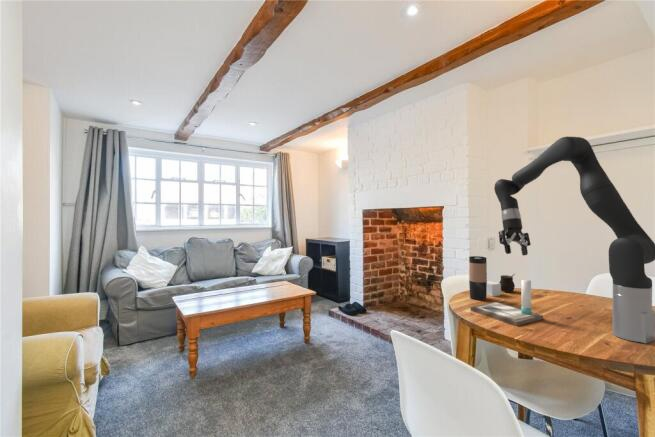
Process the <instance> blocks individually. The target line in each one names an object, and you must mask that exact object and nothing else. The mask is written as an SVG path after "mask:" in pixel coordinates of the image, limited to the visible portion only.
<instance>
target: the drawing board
mask: <svg viewBox="0 0 655 437" xmlns="http://www.w3.org/2000/svg"><path fill="white" fill-rule="evenodd" d="M470 311H471V312H474V313H477V314H479V315H483V316H486V317H489V318H492V319H494V320H496V321H497V320H498V321H499V322H503V323H506V324H510V325H512V326H515V327H518V326H521V325H522V326H523V325H525V324H529V323H534V322H537V321H541V320H544V315H543V314H541V313H536V312H533V311H531V315H526V314H522V313H521V308H519V307H517V306H512V305H509V304H505V303H502V302H499V301H494V302H489V303H484V304H478V305H474V306H470Z"/></svg>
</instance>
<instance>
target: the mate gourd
mask: <svg viewBox="0 0 655 437" xmlns="http://www.w3.org/2000/svg"><path fill="white" fill-rule="evenodd" d="M515 274H516V273H513V274H512V275H508V274H507V275H506V274H505V275H504V274H503V275H500V281H499V282H498V283H501V292H503V293H512V292H514V291H515V287H516V286H515V283H514V276H515Z"/></svg>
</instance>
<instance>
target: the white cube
mask: <svg viewBox="0 0 655 437" xmlns="http://www.w3.org/2000/svg"><path fill="white" fill-rule="evenodd" d="M501 293H502V291H501V283H499V282H496V281H492V280H487V293H486V296H490V297H499V296H501V295H502V294H501Z"/></svg>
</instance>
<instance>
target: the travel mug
mask: <svg viewBox="0 0 655 437" xmlns="http://www.w3.org/2000/svg"><path fill="white" fill-rule="evenodd" d="M468 263H469V264H468V265H469V266H468V275H469V276H468V277H469V278H468V284H469V298H470V300H474V301H486V300H487V295H486V293H487V281H488V278H487V277H488V275H487V274H488V272H487V271H488V270H487V267H488V265H487V257H485V256H478V255H476V256H475V255H474V256H469V260H468Z"/></svg>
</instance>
